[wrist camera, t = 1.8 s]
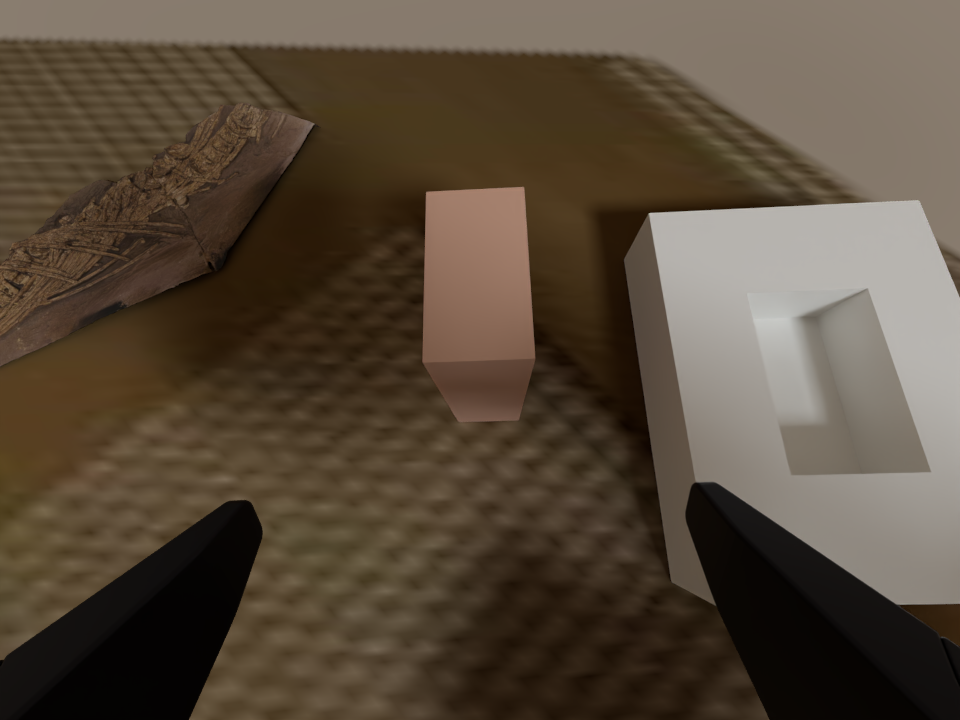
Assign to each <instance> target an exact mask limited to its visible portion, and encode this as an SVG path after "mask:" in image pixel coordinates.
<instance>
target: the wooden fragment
mask: <svg viewBox="0 0 960 720" xmlns="http://www.w3.org/2000/svg"><path fill="white" fill-rule="evenodd" d="M313 126H317V127H319V126H318V125H316V124H314V123H312V122H309V121H306V120H303V119H300V118H297V117H295V116H292V115H288V114H285V113H282V112H276V111H272V110H261V109H260V108H258V107H254V106H252V105H250V104H248V103H238V104H236V105H235V106H229V105H220V107H219V110H218V112H216V113H214V114H212V115H210V116H209V117H208V118H206V119H204V120H203V121H202V122H200V123H198V124H196V125H195V126H194V127H193V128H192V129H191V130H190V131H189V132H188V133H187V134H186V142H180V143H178V144H172V145H170V146H168V147H166V148H164V152H162V153H160V154H155V155H154V157H153V160H154V162H153V168H150V167H146V168H145V170H144V171H143V172H137V173H132V174H130V175H128V176H124V177H122V178H121V179H120V180H119V181H118V182H117V183H114V182H110V181H106V180H99V181H96V182H94V183H92V184H90V185H88V186H86V187H85V188H83V189H81V190H80V191H78V192H76V193H74V194H71V195H70V196H69V199H68V200H67V201H65V202H64V204H63V205H62V206H61V207H60V208H59V209H58V210H57V211H56V213H55V214H54V215H53V216H52V217H50V218H48V219H47V220H46V222H45V225H44V226H43V227H42V228H40V229H39V230H38V231H37V232H36V233H35V234H33V235H31V236H30V237H29V238H27V239H25V240H24V241H20V242H15V243H12V247H11V248H9V250H10V254H9V257H8V258H7V259H6V260H5V261H4V262H3V263H2V264H1V265H0V366H2V365H4V364H6V363H8V362H10V361H12V360H14V359H17V358H19V357H21V356H23V355H26V354H28V353H30V352H33V351H35V350H37V349H39V348H42V347H44V346H46V345H48V344H49V343H52V342H54V341H56V340H58V339H61V338H63V337H65V336H67V335H69V334H70V333H72V332H74V331H76V330H78V329H80V328H82V327H85V326H86V325H88V324H90V323H92V322H94V321H95V320H97V319H100V318H103V317H105V316H108V315H109V314H112V313H115V312H116V311H118V310H120V309H123V308H127V307H129V306H130V305H133V304H135V303H138V302H140V301H142V300H145V299H148V298H150V297H152V296H154V295H156V294H159V293H161V292H163V291H165V290H167V289H169V288H173V287H175V285H177V286H178V284H179V283H182V282H186V281H189V280H191V279H194V278H196V277H198V276H200V275H202V274H206V273H210V272H213V270H210V268H209V266H208V263H207V261H209V262H211V263H212V265H213V267H214V271H217V270H219V269H220V268H221V267H222V265H223V263H224V261H225V260H226V255H227V251H228V250H229V249H230V248H231V247H232V245H233V244H234V242H235V241H236V239H237V238H238V237H239V234H240V233H241V232H242V230H243V229H244V227H245V226H246V225H247V224H248V222H249V221H250V219H251V218H252V216H253V215H254V213H255V211H257V209H258V208H259V206H260V205H261V203H262V202H263V201H264V199H265V198H266V196H267V195H268V193H269V192H270V191H271V189H272V188H273V186H274V185H275V183H276V182H277V181H278V179H279V178H280V176H281V174H282V173H283V172H284V170H285V169H286V168H287V166H288V165H289V163H290V162H291V161H292V160H293V156H295V155H296V153H297V152H298V151H299V149H300V147H301V145H302V143H303V142H304V140H305V139H306V136H307V134H308V133H309V132H310V130H311V129H312V127H313Z"/></svg>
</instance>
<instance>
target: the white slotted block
mask: <svg viewBox="0 0 960 720" xmlns="http://www.w3.org/2000/svg"><path fill="white" fill-rule="evenodd" d="M624 264H625V270H626V277H627V284H628V291H629V298H630V305H631V311H632V318H633V325H634V332H635V339H636V346H637V352H638V359H639V366H640V373H641V380H642V387H643V393H644V400H645V407H646V414H647V421H648V427H649V434H650V441H651V448H652V455H653V462H654V468H655V475H656V482H657V489H658V496H659V503H660V509H661V516H662V523H663V530H664V537H665V543H666V550H667V557H668V564H669V571H670V578H671V582H672V583H674V584H676V585H678V586H680V587H681V588H683V589H685V590H687V591H689V592H691V593H693V594H695V595H696V596H698V597H700V598H702V599H704V600H706V601H708V602H710V603H711V604H713V605H715V606H716V604H715V602H714V599H713V596H712V594H711V591H710V589H709V586H708V583H707V580H706V577H705V574H704V572H703V569H702V566H701V563H700V560H699V557H698V555H697V552H696V549H695V546H694V543H693V541H692V538H691V535H690V532H689V529H688V526H687V523H686V518H685V511H686V506H687V502H688V497H689V493H690V488H691V486H692V484H693V483H695V482H716V483H718V484H720V485H721V486H723V487H724V488H726V489H727V490H728V491H730V492H731V493H733V494H734V495H736V496H737V497H739V498H740V499H742V500H743V501H745V502H746V503H748V504H749V505H751V506H752V507H754V508H755V509H757V510H758V511H759V512H761V513H762V514H764V515H765V516H767V517H768V518H770V519H771V520H773V521H774V522H776V523H777V524H779V525H780V526H782V527H783V528H785V529H786V530H788V531H789V532H790V533H792V534H793V535H795V536H796V537H798V538H799V539H801V540H802V541H804V542H805V543H807V544H808V545H810V546H811V547H813V548H814V549H816V550H817V551H818V552H820V553H821V554H823V555H824V556H826V557H827V558H829V559H830V560H832V561H833V562H835V563H836V564H838V565H839V566H841V567H842V568H844V569H845V570H847V571H848V572H849V573H851V574H852V575H854V576H855V577H857V578H858V579H860V580H861V581H863V582H864V583H866V584H867V585H869V586H870V587H872V588H873V589H875V590H876V591H878V592H879V593H880V594H882V595H883V596H885V597H886V598H888V599H889V600H891V601H892V602H894V603H895V604H897V605H907V604H960V297H959V295H958V293H957V290H956V288H955V285H954V283H953V281H952V278H951V276H950V273H949V271H948V269H947V266H946V264H945V261H944V259H943V257H942V254H941V252H940V249H939V247H938V245H937V242H936V240H935V237H934V235H933V233H932V230H931V228H930V225H929V223H928V221H927V218H926V216H925V213H924V211H923V209H922V206H921V204H920V202H919V200H914V201H892V202H871V203H850V204H829V205H808V206H787V207H766V208H745V209H724V210H703V211H682V212H661V213H649V214H648V216H647V217H646V219H645V221H644V223H643V225H642V227H641V229H640V230H639V232H638V234H637V236H636V238H635V240H634V242H633V244H632V245H631V247H630V249H629V251H628V253H627V255H626V257H625V258H624Z"/></svg>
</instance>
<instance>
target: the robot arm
mask: <svg viewBox="0 0 960 720" xmlns="http://www.w3.org/2000/svg"><path fill="white" fill-rule="evenodd" d="M685 518H686V523H687V526H688V529H689V532H690V535H691V538H692V541H693V543H694V546H695V549H696V552H697V555H698V557H699V560H700V563H701V566H702V569H703V572H704V574H705V577H706V580H707V583H708V586H709V589H710V591H711V594H712V596H713V599H714V602H715V604H716V606H717V608H718V611H719V613H720V615H721V617H722V619H723V622H724V624H725V626H726V628H727V630H728V632H729V634H730V636H731V639H732V641H733V643H734V645H735V647H736V649H737V651H738V653H739V655H740V658H741V660H742V662H743V664H744V666H745V668H746V670H747V672H748V675H749V677H750V679H751V681H752V683H753V685H754V687H755V689H756V692H757V694H758V696H759V698H760V700H761V702H762V704H763V706H764V709H765V711H766V713H767V715H768V717H769V719H770V720H960V647H959V646H958V645H956V644H955V643H953V642H952V641H950V640H949V639H947V638H945V637H940V636H939V634H938V632H936V631H935V630H934V629H932V628H931V627H929V626H928V625H926V624H925V623H923V622H922V621H920V620H919V619H917V618H916V617H914V616H913V615H911V614H910V613H909V612H907V611H906V610H904V609H903V608H901V607H900V606H898V605H897V604H895V603H894V602H892V601H891V600H889V599H888V598H886V597H885V596H883V595H882V594H880V593H879V592H878V591H876V590H875V589H873V588H872V587H870V586H869V585H867V584H866V583H864V582H863V581H861V580H860V579H858V578H857V577H855V576H854V575H852V574H851V573H849V572H848V571H847V570H845V569H844V568H842V567H841V566H839V565H838V564H836V563H835V562H833V561H832V560H830V559H829V558H827V557H826V556H824V555H823V554H821V553H820V552H818V551H817V550H816V549H814V548H813V547H811V546H810V545H808V544H807V543H805V542H804V541H802V540H801V539H799V538H798V537H796V536H795V535H793V534H792V533H790V532H789V531H788V530H786V529H785V528H783V527H782V526H780V525H779V524H777V523H776V522H774V521H773V520H771V519H770V518H768V517H767V516H765V515H764V514H762V513H761V512H759V511H758V510H757V509H755V508H754V507H752V506H751V505H749V504H748V503H746V502H745V501H743V500H742V499H740V498H739V497H737V496H736V495H734V494H733V493H731V492H730V491H728V490H727V489H726V488H724V487H723V486H721V485H720V484H718V483H716V482H695V483H693V484H692V486H691V488H690V493H689V497H688V502H687V506H686V511H685ZM262 534H263V531H262V526H261V523H260V521H259V519H258V516H257V514H256V512H255V510H254V507H253V505H252V503H251V502H249V501H247V500H236V501H228V502H226V503H224V504H223V505H221V506H220V507H218V508H217V509H216V510H214V511H213V512H211V513H210V514H208V515H207V516H206V517H204V518H203V519H201V520H200V521H198V522H197V523H196V524H194V525H193V526H191V527H190V528H188V529H187V530H186V531H184V532H183V533H181V534H180V535H178V536H177V537H176V538H174V539H173V540H171V541H170V542H168V543H167V544H166V545H164V546H163V547H161V548H160V549H158V550H157V551H155V552H154V553H153V554H151V555H150V556H148V557H147V558H145V559H144V560H143V561H141V562H140V563H138V564H137V565H135V566H134V567H133V568H131V569H130V570H128V571H127V572H125V573H124V574H123V575H121V576H120V577H118V578H117V579H115V580H114V581H113V582H111V583H110V584H108V585H107V586H105V587H104V588H103V589H101V590H100V591H98V592H97V593H95V594H94V595H93V596H91V597H90V598H88V599H87V600H85V601H84V602H83V603H81V604H80V605H78V606H77V607H75V608H74V609H73V610H71V611H70V612H68V613H67V614H65V615H64V616H63V617H61V618H60V619H58V620H57V621H55V622H54V623H52V624H51V625H50V626H48V627H47V628H45V629H44V630H42V631H41V632H40V633H38V634H37V635H35V636H34V637H32V638H31V639H30V640H28V641H27V642H25V643H24V644H22V645H21V646H20V647H18V648H17V649H15V650H14V651H12V652H11V653H10V654H8V655H7V656H6V657H5V659H4V660H0V720H189V718H190V716H191V714H192V712H193V709H194V707H195V705H196V703H197V700H198V698H199V696H200V694H201V692H202V689H203V687H204V685H205V683H206V680H207V678H208V676H209V674H210V671H211V669H212V667H213V665H214V663H215V660H216V658H217V656H218V654H219V651H220V649H221V647H222V645H223V642H224V640H225V638H226V636H227V634H228V631H229V629H230V627H231V624H232V622H233V620H234V617H235V615H236V612H237V610H238V607H239V604H240V601H241V599H242V596H243V593H244V590H245V587H246V584H247V581H248V578H249V575H250V572H251V569H252V566H253V563H254V560H255V558H256V555H257V552H258V549H259V546H260V543H261V540H262Z"/></svg>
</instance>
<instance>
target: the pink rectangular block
mask: <svg viewBox="0 0 960 720" xmlns="http://www.w3.org/2000/svg"><path fill="white" fill-rule="evenodd" d="M534 362H535V345H534V330H533V315H532V300H531V285H530V270H529V254H528V239H527V224H526V209H525V194H524V187H514V188H494V189H474V190H454V191H435V192H426V223H425V268H424V313H423V359H422V363H423V364H424V366H425V368H426V369H427V371H428V373H429V374H430V376H431V378H432V379H433V381H434V383H435V384H436V386H437V388H438V389H439V391H440V392H441V394H442V396H443V397H444V399H445V401H446V402H447V404H448V406H449V407H450V409H451V411H452V412H453V414H454V416H455V417H456V419H457V420H458V422H483V421H517V420H519V418H520V414H521V411H522V407H523V403H524V399H525V396H526V392H527V388H528V384H529V381H530V377H531V373H532V370H533V366H534Z"/></svg>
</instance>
